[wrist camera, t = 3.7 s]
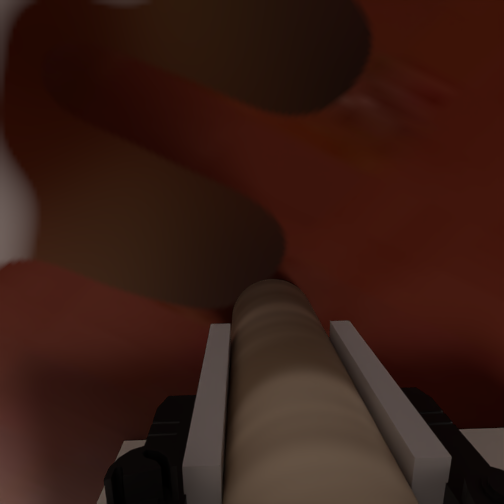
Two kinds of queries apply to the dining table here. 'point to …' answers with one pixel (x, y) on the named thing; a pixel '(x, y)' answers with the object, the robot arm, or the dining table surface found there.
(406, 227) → the dining table surface
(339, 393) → the peg
